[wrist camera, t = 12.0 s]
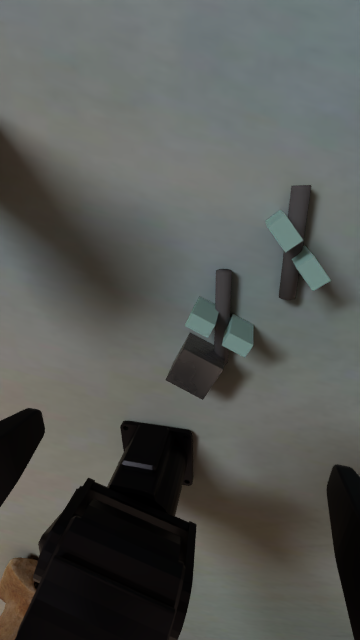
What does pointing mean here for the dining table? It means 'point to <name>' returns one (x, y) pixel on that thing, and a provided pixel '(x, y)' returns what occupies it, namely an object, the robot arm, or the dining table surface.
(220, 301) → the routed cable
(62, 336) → the dining table surface
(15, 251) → the dining table surface
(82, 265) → the dining table surface
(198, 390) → the brown grey short block
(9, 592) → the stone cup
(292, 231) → the cable clips
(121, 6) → the dining table surface
